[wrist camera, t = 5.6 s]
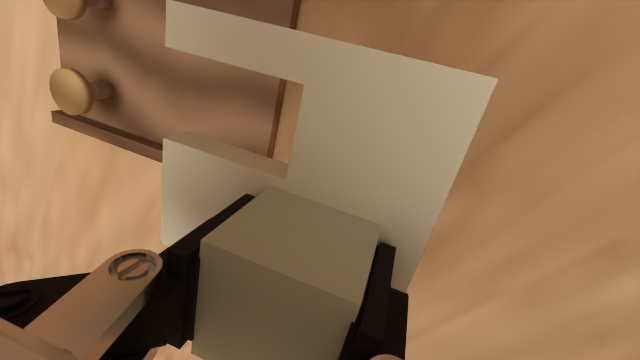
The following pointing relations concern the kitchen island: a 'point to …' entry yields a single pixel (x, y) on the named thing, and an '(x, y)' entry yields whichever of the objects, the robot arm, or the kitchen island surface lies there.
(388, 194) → the panel
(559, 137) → the kitchen island surface
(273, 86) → the board
